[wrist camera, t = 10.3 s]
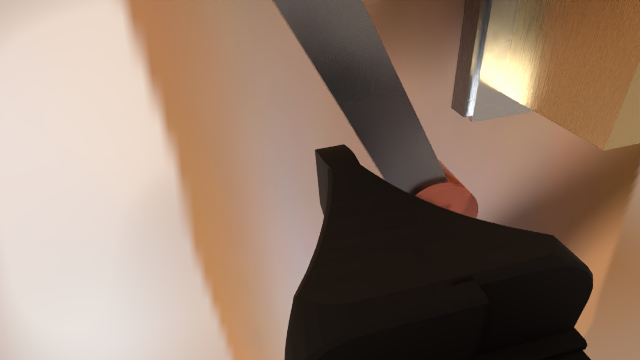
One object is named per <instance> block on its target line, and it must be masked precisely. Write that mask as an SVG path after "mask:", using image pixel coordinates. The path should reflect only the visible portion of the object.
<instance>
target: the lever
mask: <svg viewBox="0 0 640 360" xmlns="http://www.w3.org/2000/svg"><path fill="white" fill-rule="evenodd" d="M272 1H273V2H274V4H275V6H276V7H277V9H278V10H279V12H280V14H281V15H282V17H283V18H284V20H285V22H286V23H287V25H288V26H289V28H290V30H291V31H292V33H293V34H294V36H295V38H296V39H297V41H298V42H299V44H300V46H301V47H302V49H303V50H304V52H305V54H306V55H307V57H308V59H309V60H310V62H311V63H312V65H313V67H314V68H315V70H316V71H317V73H318V75H319V76H320V78H321V79H322V81H323V83H324V84H325V86H326V87H327V89H328V91H329V92H330V94H331V95H332V97H333V99H334V100H335V102H336V103H337V105H338V107H339V108H340V110H341V111H342V113H343V115H344V116H345V118H346V119H347V121H348V123H349V124H350V126H351V127H352V129H353V131H354V132H355V134H356V135H357V137H358V139H359V140H360V142H361V143H362V145H363V147H364V148H365V150H366V151H367V153H368V155H369V156H370V158H371V159H372V161H373V163H374V164H375V166H376V167H377V169H378V171H379V172H380V174H381V175H382V177H383V179H384V180H385V181H387V182H389V183H391V184H392V185H394V186H396V187H398V188H399V189H401V190H403V191H405V192H407V193H409V194H412V195H414V196H416V197H418V198H420V199H423V200H425V201H427V202H430V203H432V204H435V205H437V206H440V207H443V208H445V209H448V210H451V211H454V212H457V213H460V214H463V215H466V216H469V217H473V218H476V217H477V214H478V204H477V201H476V199H475V197H474V196H473V195H472V194H471V193H470V192H469V191H468V190H467V189H466V188H465V187H464V186H463V185H462V183H461V182H460V181H459V180H458V179H457V178H456V177H455V176H454V175H453V174H452V173H451V172H450V171H449V170H448V169H447V168H446V167H445V166H444V165H443V164H442V163H441V162H440V161H439V160H438V159H437V157H436V155H435V153H434V151H433V149H432V146H431V144H430V142H429V140H428V138H427V136H426V134H425V132H424V130H423V128H422V126H421V123H420V121H419V119H418V117H417V115H416V113H415V111H414V109H413V107H412V105H411V102H410V100H409V98H408V96H407V94H406V92H405V90H404V88H403V86H402V84H401V81H400V79H399V77H398V75H397V73H396V71H395V69H394V67H393V65H392V63H391V60H390V58H389V56H388V54H387V52H386V50H385V48H384V46H383V44H382V42H381V40H380V37H379V35H378V33H377V31H376V29H375V27H374V25H373V23H372V21H371V19H370V16H369V14H368V12H367V10H366V8H365V6H364V4H363V2H362V0H272Z"/></svg>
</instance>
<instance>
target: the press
mask: <svg viewBox="0 0 640 360" xmlns="http://www.w3.org/2000/svg"><path fill="white" fill-rule="evenodd" d="M519 1H520V0H466V3H465V11H464V18H463V26H462V33H461V41H460V48H459V56H458V63H457V71H456V78H455V85H454V93H453V100H452V109H454V110H455V111H456V112H458V113H459V114H460V115H461V116H463V117H466V116H470V119H469V120H470V121H471V122H476V121H481V120H487V119H493V118H498V117H504V116H510V115H516V114H521V113H527V112H533V110H531V109H530V108H528V107H526V106H524V105H523V104H521V103H519V102H517V101H516V100H514V99H512V98H510V97H509V96H507V95H505V94H503V93H502V92H501V90H502V85H503V80H504V75H505V70H506V65H507V60H508V55H509V50H510V45H511V40H512V35H513V31H514V26H515V21H516V16H517V11H518V6H519Z"/></svg>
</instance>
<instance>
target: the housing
mask: <svg viewBox="0 0 640 360" xmlns="http://www.w3.org/2000/svg"><path fill="white" fill-rule="evenodd" d="M501 92H502V93H503V94H505V95H507V96H509V97H510V98H512V99H514V100H516V101H517V102H519V103H521V104H523V105H524V106H526V107H528V108H530V109H531V110H533V111H535V112H537V113H539V114H540V115H542V116H544V117H546V118H547V119H549V120H551V121H553V122H554V123H556V124H558V125H560V126H561V127H563V128H565V129H567V130H568V131H570V132H572V133H574V134H575V135H577V136H579V137H581V138H582V139H584V140H586V141H588V142H589V143H591V144H593V145H595V146H596V147H598V148H600V149H602V150H609V149H614V148H619V147H624V146H629V145H634V144H639V143H640V0H520V1H519V6H518V11H517V16H516V21H515V26H514V31H513V35H512V40H511V45H510V50H509V55H508V60H507V65H506V70H505V75H504V80H503V85H502V90H501Z"/></svg>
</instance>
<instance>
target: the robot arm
mask: <svg viewBox="0 0 640 360" xmlns="http://www.w3.org/2000/svg"><path fill="white" fill-rule="evenodd" d="M315 155H316V165H317V176H318V186H319V196H320V204H321V208H322V211H323V214H324V220H323V225H322V228H321V232H320V236H319V239H318V243H317V246H316V249H315V251H314V254H313V256H312V259H311V261H310V264H309V267H308V269H307V271H306V273H305V275H304V277H303V279H302V281H301V283H300V285H299V287H298V289H297V291H296V293H295V295H294V297H293V304H292V309H291V314H290V319H289V325H288V330H287V337H286V346H285V360H591V359H590V358H589V357H588V356H587V355H586V354H585V353H584V351H583V350H584V349H586V347H587V343H586V340H585V339H584V338H583V337H582V336H581V335H580V333H579V332H578V331H577V330H576V329H575V328H574V326H575V324H576V322H577V320H578V318H579V317H580V315H581V313H582V311H583V309H584V307H585V305H586V303H587V301H588V300H589V297H590V294H591V292H592V289H593V274H592V273H591V271H590V269H589V268H588V266H586V265H585V264H584V263H583V262H582V261H581V260H580V259H579V258H578V257H577V256H576V255H574V254H573V253H572V252H571V251H570V250H569V249H568V248H567V247H566V246H565V245H563V244H562V243H561V242H560V241H559V240H558V239H557V238H556V237H554V236H553V235H548V234H543V233H538V232H533V231H528V230H522V229H517V228H512V227H507V226H503V225H499V224H495V223H491V222H487V221H483V220H479V219H476V218H473V217H469V216H466V215H463V214H460V213H457V212H454V211H451V210H448V209H445V208H443V207H440V206H437V205H435V204H432V203H430V202H427V201H425V200H423V199H420V198H418V197H416V196H414V195H412V194H409V193H407V192H405V191H403V190H401V189H399V188H398V187H396V186H394V185H392V184H391V183H389V182H387V181H385V180H383V179H382V178H380V177H379V176H377V175H375V174H374V173H372V172H371V171H369V170H368V169H366V168H365V167H363V166H362V165H360V163H359V161H358V160H357V158H356V156H355V154H354V153H353V152H352V151H351V150H350V149H349V148H348V147H347V146H345V145H338V146H333V147H327V148H321V149H316V150H315Z"/></svg>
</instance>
